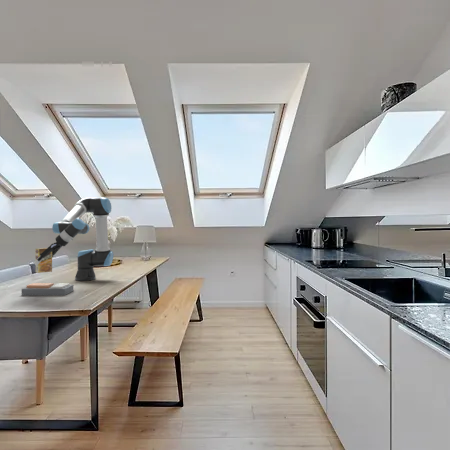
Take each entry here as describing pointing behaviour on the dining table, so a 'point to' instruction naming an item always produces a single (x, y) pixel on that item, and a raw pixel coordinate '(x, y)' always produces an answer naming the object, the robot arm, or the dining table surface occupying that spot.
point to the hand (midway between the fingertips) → (38, 263)
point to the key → (40, 285)
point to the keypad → (49, 290)
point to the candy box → (44, 262)
